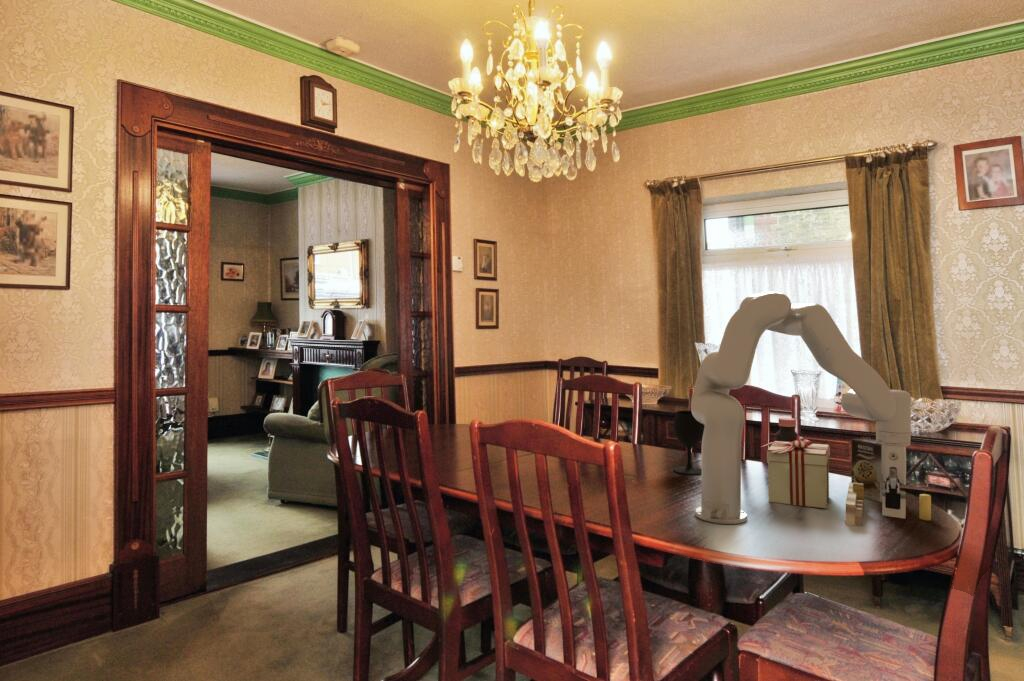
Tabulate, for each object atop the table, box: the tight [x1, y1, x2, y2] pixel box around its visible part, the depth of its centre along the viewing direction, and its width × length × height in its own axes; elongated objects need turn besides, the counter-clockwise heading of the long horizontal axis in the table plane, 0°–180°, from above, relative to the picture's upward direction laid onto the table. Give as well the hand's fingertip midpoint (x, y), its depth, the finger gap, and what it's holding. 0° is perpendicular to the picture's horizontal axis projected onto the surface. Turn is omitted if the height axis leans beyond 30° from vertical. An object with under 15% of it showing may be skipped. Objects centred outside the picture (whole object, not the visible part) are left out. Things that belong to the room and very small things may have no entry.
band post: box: [918, 493, 932, 521], centre depth 151 cm, size 2×2×6 cm
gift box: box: [760, 435, 831, 510], centre depth 169 cm, size 17×18×17 cm
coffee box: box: [850, 437, 885, 503], centre depth 171 cm, size 9×6×16 cm
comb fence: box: [844, 482, 865, 527], centre depth 157 cm, size 24×4×7 cm, turn 148°
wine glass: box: [672, 410, 705, 476], centre depth 202 cm, size 10×10×20 cm
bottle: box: [774, 417, 800, 442], centre depth 187 cm, size 7×7×20 cm
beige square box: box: [881, 489, 907, 519], centre depth 155 cm, size 4×5×6 cm
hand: (892, 503), depth 155 cm, fingers open, 9 cm apart
